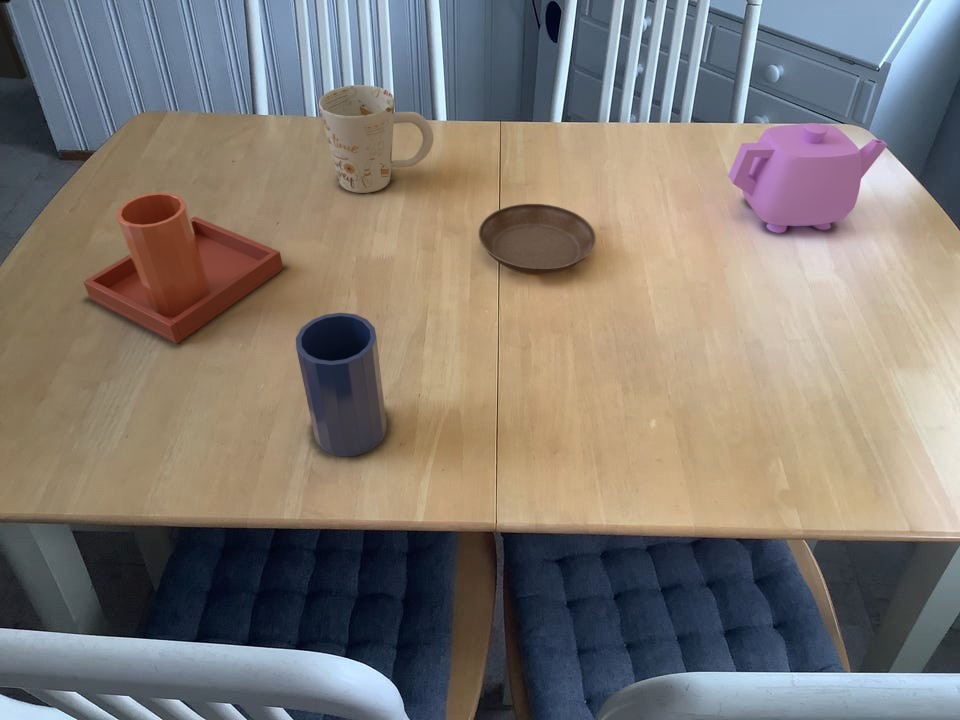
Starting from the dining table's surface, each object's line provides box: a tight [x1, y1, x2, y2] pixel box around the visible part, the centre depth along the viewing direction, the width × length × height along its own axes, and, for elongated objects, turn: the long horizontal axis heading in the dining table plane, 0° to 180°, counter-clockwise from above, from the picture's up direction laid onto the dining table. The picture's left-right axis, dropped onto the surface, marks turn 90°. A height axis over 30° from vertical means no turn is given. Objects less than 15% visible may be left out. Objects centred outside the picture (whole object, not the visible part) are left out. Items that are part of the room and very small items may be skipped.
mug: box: [318, 84, 434, 194], centre depth 109 cm, size 10×15×12 cm, turn 101°
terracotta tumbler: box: [116, 191, 211, 316], centre depth 87 cm, size 7×7×12 cm
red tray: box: [82, 216, 284, 345], centre depth 94 cm, size 17×15×3 cm
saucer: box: [478, 203, 597, 276], centre depth 99 cm, size 15×15×3 cm
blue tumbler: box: [295, 312, 387, 457], centre depth 73 cm, size 7×7×12 cm
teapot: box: [727, 122, 888, 234], centre depth 102 cm, size 20×12×13 cm, turn 97°
